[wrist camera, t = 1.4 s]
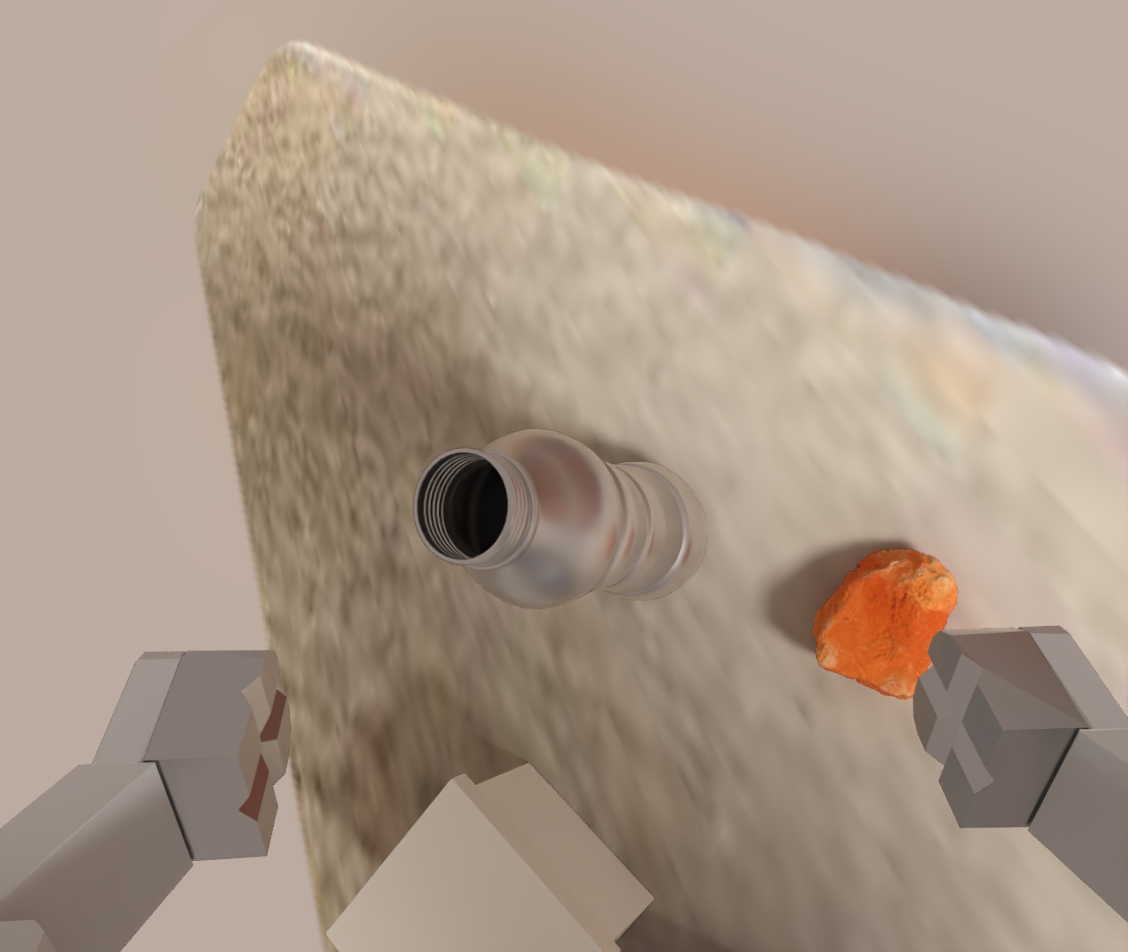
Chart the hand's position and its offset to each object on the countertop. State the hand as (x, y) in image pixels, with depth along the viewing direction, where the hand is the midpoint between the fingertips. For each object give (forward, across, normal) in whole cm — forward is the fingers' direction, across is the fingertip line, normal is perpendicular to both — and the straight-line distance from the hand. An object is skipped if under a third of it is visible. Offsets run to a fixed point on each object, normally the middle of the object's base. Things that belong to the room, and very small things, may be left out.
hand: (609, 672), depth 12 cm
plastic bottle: (+29, -6, +21) cm, 36 cm away
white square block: (+19, 0, +36) cm, 41 cm away
